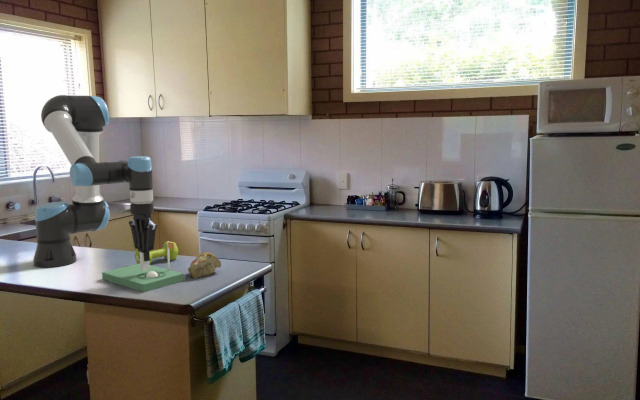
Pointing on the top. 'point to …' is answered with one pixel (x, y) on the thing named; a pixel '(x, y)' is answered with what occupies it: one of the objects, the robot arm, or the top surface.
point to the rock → (204, 265)
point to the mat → (142, 277)
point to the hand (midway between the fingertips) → (145, 269)
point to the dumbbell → (160, 253)
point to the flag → (171, 246)
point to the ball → (151, 274)
